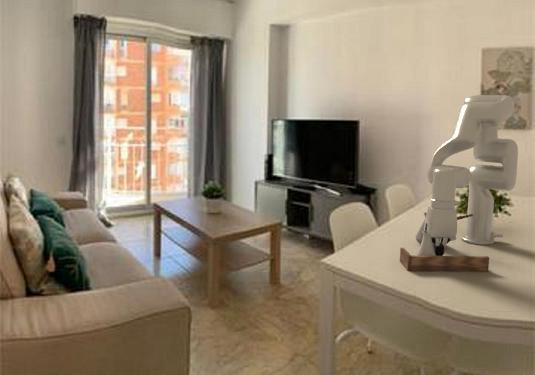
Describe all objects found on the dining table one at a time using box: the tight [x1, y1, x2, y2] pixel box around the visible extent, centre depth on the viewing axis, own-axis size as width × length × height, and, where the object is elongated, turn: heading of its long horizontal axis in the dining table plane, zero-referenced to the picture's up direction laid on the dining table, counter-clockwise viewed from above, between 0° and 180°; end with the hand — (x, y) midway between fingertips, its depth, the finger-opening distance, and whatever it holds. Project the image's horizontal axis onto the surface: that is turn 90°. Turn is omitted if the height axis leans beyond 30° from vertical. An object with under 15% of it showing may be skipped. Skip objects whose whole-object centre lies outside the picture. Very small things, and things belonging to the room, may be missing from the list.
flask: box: [415, 231, 436, 256], centre depth 162 cm, size 7×7×10 cm
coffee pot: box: [415, 211, 475, 248], centre depth 183 cm, size 21×12×15 cm, turn 54°
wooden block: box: [399, 247, 490, 273], centre depth 163 cm, size 27×10×5 cm, turn 90°
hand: (438, 256), depth 163 cm, fingers closed
